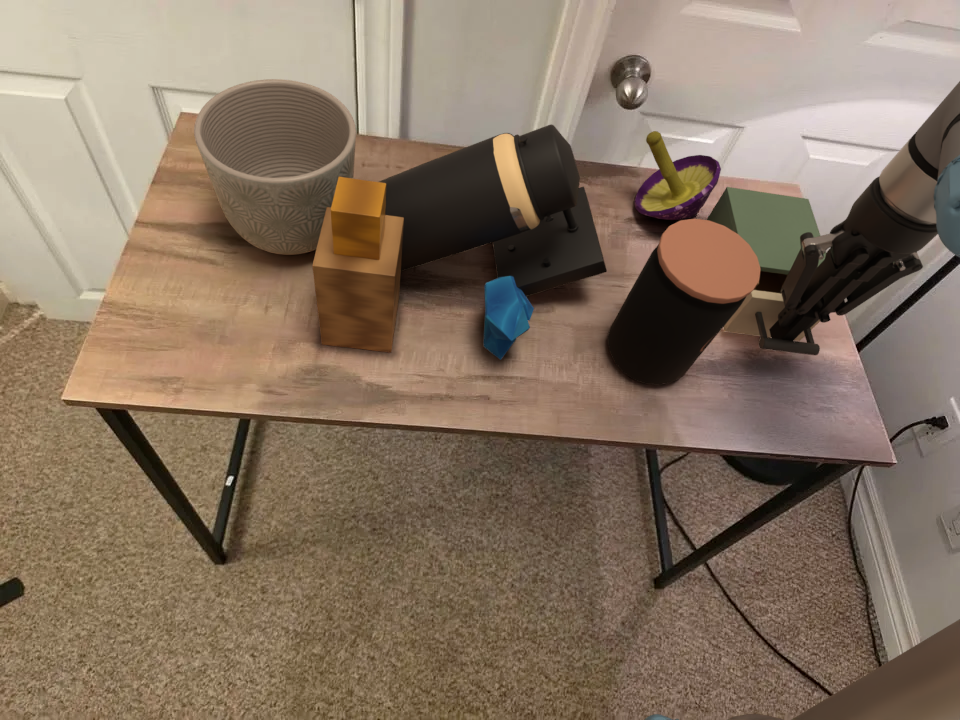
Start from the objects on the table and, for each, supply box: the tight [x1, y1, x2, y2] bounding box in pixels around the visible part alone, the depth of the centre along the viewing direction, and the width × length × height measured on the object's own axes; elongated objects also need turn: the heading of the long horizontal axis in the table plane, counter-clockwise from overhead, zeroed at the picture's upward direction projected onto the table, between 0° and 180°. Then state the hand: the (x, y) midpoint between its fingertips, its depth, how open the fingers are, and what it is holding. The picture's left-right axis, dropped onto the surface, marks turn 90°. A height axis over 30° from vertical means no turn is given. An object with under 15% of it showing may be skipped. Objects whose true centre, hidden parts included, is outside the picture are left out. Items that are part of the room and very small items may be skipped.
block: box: [330, 177, 386, 260], centre depth 61 cm, size 4×4×6 cm
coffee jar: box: [607, 218, 761, 386], centre depth 72 cm, size 11×11×18 cm
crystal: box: [482, 276, 535, 361], centre depth 73 cm, size 7×9×12 cm
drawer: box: [722, 271, 821, 356], centre depth 81 cm, size 18×10×7 cm, turn 177°
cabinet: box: [706, 186, 827, 275], centre depth 85 cm, size 14×12×9 cm
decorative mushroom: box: [633, 130, 722, 221], centre depth 89 cm, size 12×12×15 cm
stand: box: [312, 207, 404, 353], centre depth 70 cm, size 8×8×14 cm
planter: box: [193, 78, 357, 256], centre depth 75 cm, size 17×17×15 cm
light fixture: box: [378, 124, 608, 297], centre depth 76 cm, size 13×18×26 cm
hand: (777, 338), depth 78 cm, fingers closed
